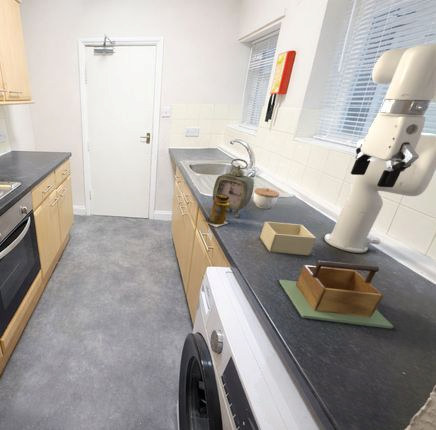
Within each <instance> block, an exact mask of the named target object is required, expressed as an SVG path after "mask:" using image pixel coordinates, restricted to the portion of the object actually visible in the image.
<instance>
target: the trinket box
mask: <svg viewBox="0 0 436 430" xmlns="http://www.w3.org/2000/svg"><path fill="white" fill-rule="evenodd" d="M252 196H253V197H252V199H253V203H254V204H255V206H256V207H257V208H259V209H265V210H268V209H270V208H272V207H274V205H276V203H277V201H278V199H279V196H280V192H279V191H277V190H274V189H271V188H269V187H266V188H265V187H257V188H254V189H253V195H252Z"/></svg>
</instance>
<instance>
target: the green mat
mask: <svg viewBox="0 0 436 430" xmlns="http://www.w3.org/2000/svg"><path fill="white" fill-rule="evenodd" d="M278 283H279V284H280V285H281V287H282V289H283V290H284V291H285V293H286V294H287V296H288V298H289V299H290V301H291V302H292V304H293V305H294V308H295V309H296V310H297V312H298V314H299V315H300V316H301V318H303V319H310V320H316V321H317V320H319V321H327V322H334V323H343V324H349V325H350V324H351V325H358V326H367V327H374V328H383V329H393V328H394V325H393V324H392V323H391V322H390V321H389V320H388V319H387V318H386V317H384V315H383V314H382V313H380V311H378V309H376V310H375V312H374V313H373V315H372V317H371V318H370V317H362V316H354V315H345V314H337V313H329V312H320V311H314V310H313V308H312V307H311V306H310V304H309V303H308V302H307V300H306V299H305V297H304V296H303V295H302V293H301V292H300V290H299V289H298V288H297V286H296V283H297V280H288V279H279V282H278Z"/></svg>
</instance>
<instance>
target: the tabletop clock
mask: <svg viewBox="0 0 436 430" xmlns="http://www.w3.org/2000/svg"><path fill="white" fill-rule="evenodd" d="M236 161H240V162H243V163H245V167H241V166H240V165H239V164H238V165H234V164H233V162H236ZM230 163H231V166H232V167H233V170H232V171H231V172H226V173H224V174H220V175H218V176H217V178H216V180H215V183H214V186H213V189H212V201H213V202H214V200H215V198H216V194H225V195H228V196H229V201H228V203H229V205H228V209H227V210H228V211H229V212H232V211H236V214H235V217H236V218H240V217H241V215H240V214H239V213H240V211H241V210H242V209H244V208H246V207H247V206H248V205H249V204H250V201H251V199H252V196H253V194H254V189H255V188H254V187H255V182H254V179H253V178H252V177H250V176H248V175H244V172H243V170H246V169H247V168H248V167H249V166H248V165H249V163H248V162H247V161H246V160H245V159H242V158H234V159H233V160H232V161H231V162H230ZM213 202H212V203H213Z"/></svg>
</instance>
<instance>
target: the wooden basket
mask: <svg viewBox="0 0 436 430" xmlns="http://www.w3.org/2000/svg"><path fill="white" fill-rule="evenodd" d="M315 263H316V264H315V265H310V264H309V265H308V264H303V265H302V268H301V271H300V273H299V275H298V278H297V280H296V281H297V283H296V286H297V288H298V289H299V290H300V292H301V293H302V295H303V296H304V297H305V299H306V300H307V302H308V303H309V304H310V306H311V307H312V308H313V310H314V311H320V312H329V313H337V314H345V315H354V316H362V317H370V318H371V317H372V315H373V313H374V312H375V310H377V308H378V306H380V304H381V301H382V300H383V298H384V296H385V295H384V294H383V293H382V292H380V291H379V290H378V289H377V288H376V287H375V286H374V285H373V284H372V283H371V282H372V280H373V279H374V277H375V275H376V273H378V272H379V271H380V268H379V266H376V265H368V264H359V263H357V264H356V263H346V262H338V261H327V260H316V262H315ZM358 271H363V272H369V273H368V275H367V276H366V278H365V277H364V276H363V275H362V274H361V273H360V272H358Z"/></svg>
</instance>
